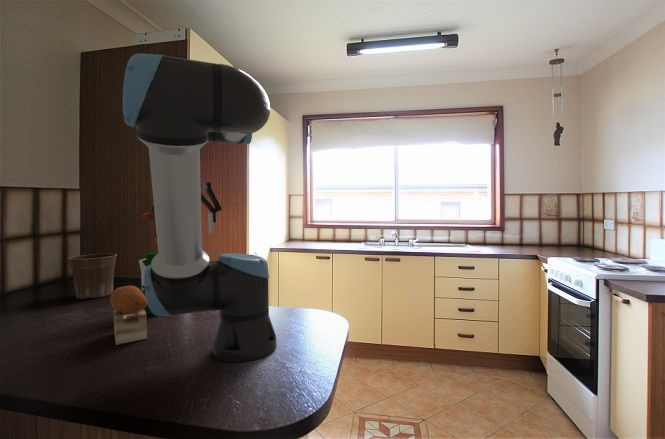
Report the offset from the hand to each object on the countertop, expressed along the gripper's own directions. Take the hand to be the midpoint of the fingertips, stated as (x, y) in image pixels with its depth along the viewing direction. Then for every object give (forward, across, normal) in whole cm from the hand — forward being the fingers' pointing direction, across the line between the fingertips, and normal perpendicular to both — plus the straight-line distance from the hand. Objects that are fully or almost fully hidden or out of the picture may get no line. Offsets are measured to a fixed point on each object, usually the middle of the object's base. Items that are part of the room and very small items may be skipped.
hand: (188, 234), depth 103 cm
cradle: (+27, +16, +5) cm, 32 cm away
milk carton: (+27, +7, -15) cm, 32 cm away
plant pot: (+27, +25, -54) cm, 65 cm away
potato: (+20, +17, +5) cm, 27 cm away
